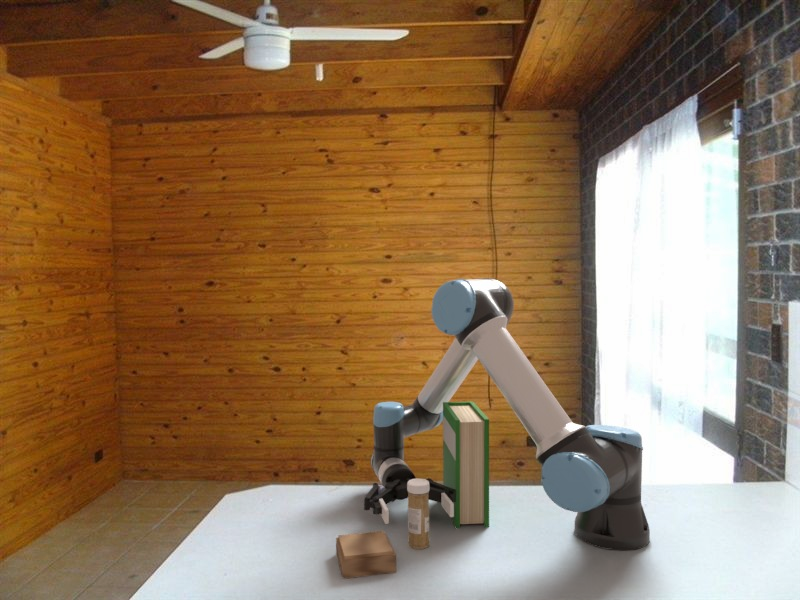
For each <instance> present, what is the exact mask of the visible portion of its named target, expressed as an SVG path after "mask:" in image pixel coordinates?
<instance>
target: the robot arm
mask: <svg viewBox="0 0 800 600" xmlns="http://www.w3.org/2000/svg"><path fill="white" fill-rule="evenodd" d="M431 302H432V305H431V309H430V310H431V317H432V320H433V323H434V325H435V326H436V328H437V329H438V330H439V331H440V332H441V333H443V334H446V335H449V336H454V337H455V338H454V339H453V340H452V341H453V342H452V343H451V344H450V346H449V347H448V349H447V350H446V352H445V354H444V355H443V357H442V359H440V361H439V362H438V365H437V366H436V367H435V369H434V370H433V372H432V373H431V375H430V377H429V378H428V380H427V381H426V382H425V384H424V386H423V387H422V389H421V390H420V392H419V394H418V395H417V397H416V398H415V399H414V401H413V402H412V403H411V404H409V405H406V406H404V405H403V404H402V403H400V402H396V401H385V402H384V401H382V402H378V403H376V404H375V405H374V407H373V419H372V424H373V453H372V454H371V455H372V456H371V459H370V463H371V468H372V470H373V473H374V474H375V475H376V477H377V479H378V480H379V482H380V483H381V484H379V483H378V482H373V483H372V487H371V488H370V490H369V491H368V492H367V494H366V495H365V496H364V497H363V509H364V511H369V510H371V509H372V514H374V515H380V516H381V518H382V520H383V522H384V524H387V525H388V524H389V523H390V520H389V519H390V513H389V512H390V511H389V508H388V507H387V505H388V504H389V503H391V502H392V503H393V502H395V501H401V500H405V499H408V491H407V482H408V481H409V480H411V479H416V475H415V474H414V472H413V471H412V470H411V467H409V466H408V464H407V463H406V461H405V456H404V455H405V452H404V450H405V449H404V448H405V439H406V438H408V437H410V436H413V435H416V434H419V433H423V432H427V431H431V430H433V429H435V428H436V427H439V425H441V424H442V423H443V402H451V401H450V400H451V399H452V397H454V395H455V393H456V392H457V391H458V390H459V388H460V386H461V385H462V384H463V382H464V380H465V379H466V378H467V376H468V375H469V374H470V372H471V371H472V369H473V368H474V366H475V365H476V364H477V362H478V361H479V362H480V364H481V365H482V366H483V368H484V369H485V371H486V373H487V375H489V377H490V378H491V380H492V382H493V383H494V384H495V386H496V387H497V389H498V390H499V392H500V393H501V395H502V397H504V399H505V401H506V402H507V404H508V405H509V407H510V408H511V410H512V411H513V413H514V414H515V415H516V417H517V418H518V420H519V422H520V423H521V424H522V426H523V428H524V429H525V430H526V432H527V433H528V435H529V437H531V440H532V441H533V442H534V443H535V445H536V454H535V459H536V460H537V462H538V464H539V465H540V467H541V471H540V475H541V479H540V481H541V482H540V483H541V484H542V488H543V491H544V492H545V493H546V495H547V497H548V498H549V499H550V500H551V501H552V502H553V503H554V504H555V505H556V506H558V507H560V508H561V509H563V510H564V511H569V512H572V513H573V512H574V513H576V516H575V519H574V534H575V535H576V537H577V538H578V539H580V540H581V541H582V542H584V543H587V544H589V545H592V546H594V547H599V548H602V549H607V550H614V551H615V550H616V551H631V550H638V549H641V548H643V547H645V546H646V547H647V545H648V544H649V543H650V539H651V538H650V537H651V536H650V534H651V533H650V526H649V523H648V519H647V517H646V516H647V515H646V513H645V510H644V507H643V504H642V481H643V480H642V478H643V477H642V475H643V474H642V473H643V450H644V447H643V441H642V435H641V434H640V432H638V431H636V430H633V429H631V428H626V427H620V426H613V425H607V424H606V425H604V424H591V425H590V424H589V425H586V426H585V425H582V424H578V423H574V422H573V421H572V419H571V418H570V416H568V414H567V412H566V411H565V410H564V408H563V407H562V406H561V404H560V403H559V401H558V399H557V398H556V397H555V396H554V394H553V393H552V391H551V390H550V388H549V386H547V385H546V383H545V381H544V380H543V379H542V377H541V376H540V374H539V373H538V372H537V370H536V369H535V367H534V366H533V364H532V363H531V362H530V360H529V359H528V357H527V356H526V354H525V353H524V352H523V350H522V349H521V348H520V346H519V344H518V343H517V342H516V341H515V339H514V338H513V336H512V335H511V333H510V332H509V331H508V329H507V326H508V325H509V323H510V321H511V319H512V317H513V313H514V308H515V307H514V306H515V305H514V304H515V303H514V302H515V301H514V298H513V295H512V292H511V290H510V289H509V288H508V287H507V285H505V283H503V282H502V281H499V280H498V279H495V278H489V277H485V278H484V277H483V278H470V279H469V278H468V279H465V278H457V279H454V280H449V281H446V282H444V283H443V284H441V285H440V286H439V288H437V290H436V291H435V293H434V296H433V298H432V301H431ZM426 480H428V481H429V488H430V490H429V494H428V495H429V501H432V502H437V503H440V505H441V507H442V508H443V509H444V511H445V512H446V514H448V516H449V517H450V518H451V517H454V502H456V490H455V489H452V488H449V487H447V486H444V485H443V483H442V484H441V483H439V482H437V481H434V480H433V479H432V478H429V477H428V478H426Z"/></svg>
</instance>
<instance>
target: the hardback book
mask: <svg viewBox="0 0 800 600" xmlns="http://www.w3.org/2000/svg"><path fill="white" fill-rule="evenodd" d="M442 462H443V463H442V477H443V478H442V481H443V483H442V485H444V486H447V487H449V488H452V489H455V490H456V502H454V517H450V518H451V521H452V520H453V521H452V523H453V522H454V523H453V525H455V526H454V528H455V527H456V528H457V529H461V525H468V524H469V525H471V524H472V525H473V524H482V525H483V524H484V525H483V526H484V528H489V527H490V418H489V417H488V416H487V415H486V414H485V413H484V412H483V411H482V410H481V408H480V407H478V405H477V404H476V403H475V401H449V402H443V420H442ZM456 528H455V529H456Z"/></svg>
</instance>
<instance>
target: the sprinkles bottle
mask: <svg viewBox="0 0 800 600" xmlns="http://www.w3.org/2000/svg"><path fill="white" fill-rule="evenodd" d="M426 479H427V478H426ZM426 479H425V478H418V477H417V478H416V479H411V480H409V481H408V482H407V491H408V498H407V530H408V541H407V542H408V543H407V545H408V547H409V548H411V549H413V550H425V549H427V548H429V547H430V543H431V542H430V508H429V507H430V505H429V504H430V503H429V501H430V500H429V495H428V494H429V490H430V488H429V481H428V480H426Z"/></svg>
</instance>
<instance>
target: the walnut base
mask: <svg viewBox="0 0 800 600" xmlns="http://www.w3.org/2000/svg"><path fill="white" fill-rule="evenodd" d="M335 542H336V543H335V546H336V547H335V552H336V553H335V554H336V558H337V561H338V564H339V568H340V572H341V577H342V579H343V580H344V579H350V578H358V577H367V576H368V577H369V576H376V575H386V574H392V573H393V574H394V573H397V553H396V552H395V550H394V547H393V545H392V543H391V542H390V539H389V538H388V536H387V533H386V532H385V531H384V530H380V531H369V532H359V533H350V534H341V535H338V536H337V537H336V538H335Z"/></svg>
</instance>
